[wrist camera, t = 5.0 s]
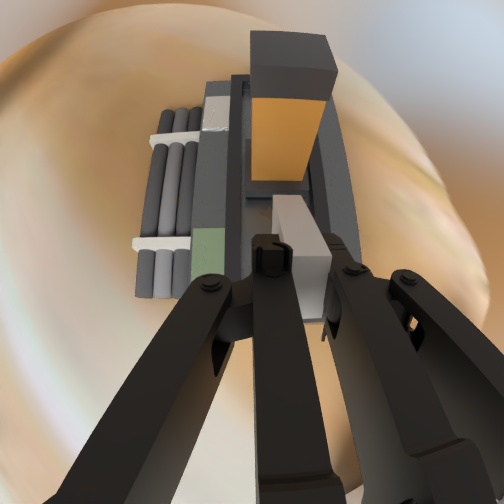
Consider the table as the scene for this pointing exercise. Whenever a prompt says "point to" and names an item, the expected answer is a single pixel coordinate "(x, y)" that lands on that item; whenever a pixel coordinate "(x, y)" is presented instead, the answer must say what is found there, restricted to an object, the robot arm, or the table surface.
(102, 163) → the table surface
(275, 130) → the breaker toggle
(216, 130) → the breaker panel
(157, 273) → the cord bundle
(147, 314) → the table surface
